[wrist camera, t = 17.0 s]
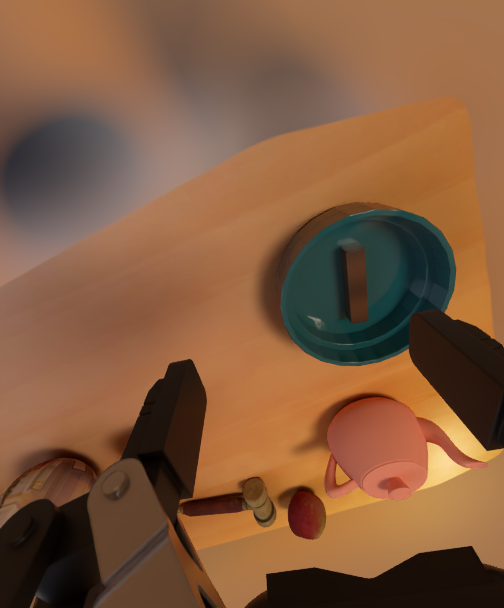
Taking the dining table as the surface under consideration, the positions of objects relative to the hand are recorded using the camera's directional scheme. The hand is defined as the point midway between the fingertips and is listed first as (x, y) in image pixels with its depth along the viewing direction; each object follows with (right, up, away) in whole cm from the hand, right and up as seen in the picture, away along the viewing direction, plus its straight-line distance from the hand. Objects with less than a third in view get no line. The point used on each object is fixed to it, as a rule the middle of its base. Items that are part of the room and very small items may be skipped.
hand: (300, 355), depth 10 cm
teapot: (+19, -18, +38) cm, 47 cm away
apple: (+9, -39, +49) cm, 63 cm away
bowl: (+11, +5, +26) cm, 28 cm away
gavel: (-8, -40, +49) cm, 63 cm away
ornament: (-36, -29, +43) cm, 64 cm away
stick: (+11, +5, +25) cm, 28 cm away
